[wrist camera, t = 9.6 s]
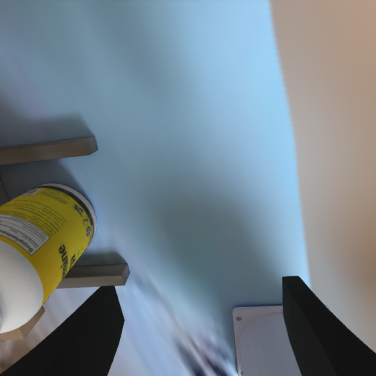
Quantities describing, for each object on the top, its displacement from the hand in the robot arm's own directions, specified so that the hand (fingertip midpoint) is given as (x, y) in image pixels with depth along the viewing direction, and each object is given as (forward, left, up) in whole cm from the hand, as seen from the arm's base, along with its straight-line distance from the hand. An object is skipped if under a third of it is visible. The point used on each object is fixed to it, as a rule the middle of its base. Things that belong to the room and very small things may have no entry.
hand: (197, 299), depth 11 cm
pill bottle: (0, +12, -10) cm, 15 cm away
